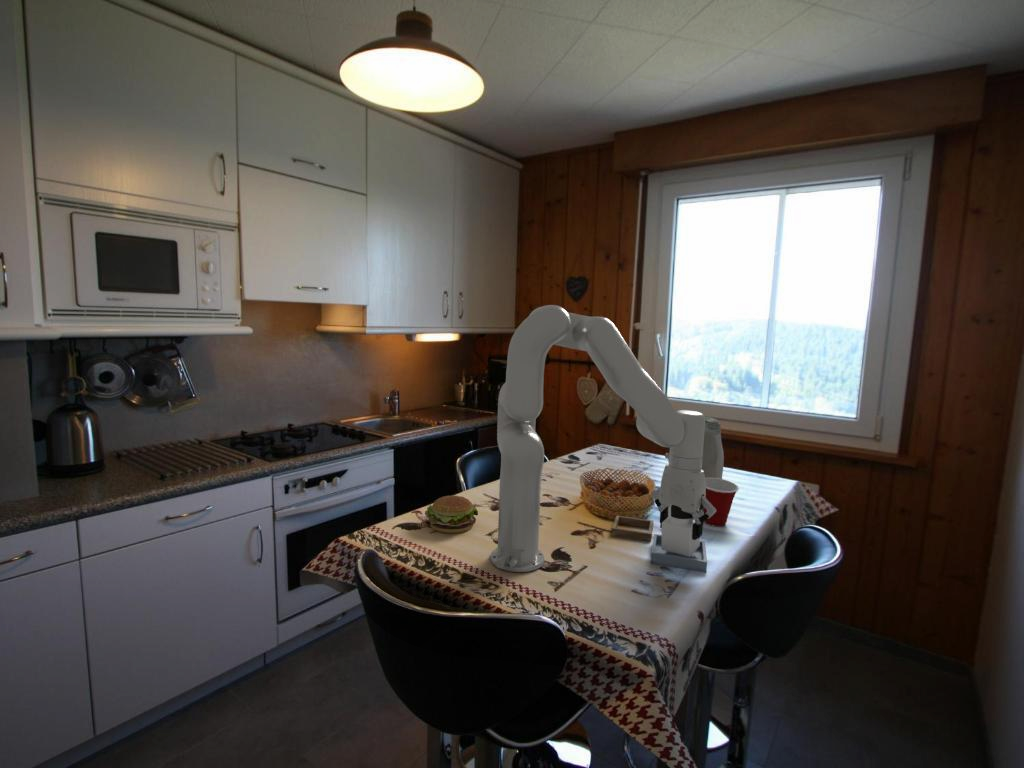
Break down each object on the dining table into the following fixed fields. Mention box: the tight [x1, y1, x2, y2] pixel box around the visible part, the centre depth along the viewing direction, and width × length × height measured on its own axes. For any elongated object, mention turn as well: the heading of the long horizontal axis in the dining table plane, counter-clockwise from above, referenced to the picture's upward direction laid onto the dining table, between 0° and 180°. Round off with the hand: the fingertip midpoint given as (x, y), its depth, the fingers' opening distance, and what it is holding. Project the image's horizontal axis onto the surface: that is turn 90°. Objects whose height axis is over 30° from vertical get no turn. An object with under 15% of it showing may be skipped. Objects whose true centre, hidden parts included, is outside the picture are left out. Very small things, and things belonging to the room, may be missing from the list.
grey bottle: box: [701, 416, 725, 479], centre depth 168 cm, size 10×10×28 cm
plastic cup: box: [702, 478, 740, 527], centre depth 151 cm, size 11×11×12 cm
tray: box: [650, 533, 708, 573], centre depth 128 cm, size 12×12×2 cm
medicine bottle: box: [661, 505, 701, 557], centre depth 128 cm, size 7×7×12 cm
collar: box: [611, 515, 654, 542], centre depth 144 cm, size 10×10×2 cm
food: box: [424, 494, 479, 534], centre depth 142 cm, size 14×14×8 cm
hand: (680, 532), depth 128 cm, fingers closed on medicine bottle, 8 cm apart
